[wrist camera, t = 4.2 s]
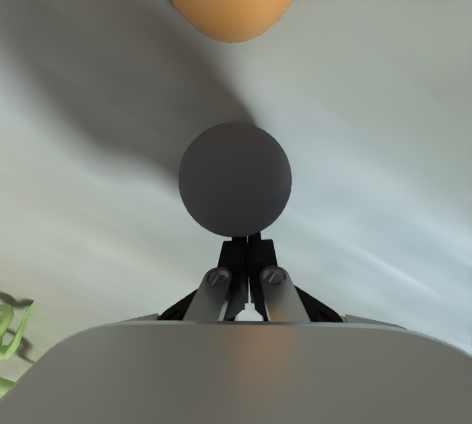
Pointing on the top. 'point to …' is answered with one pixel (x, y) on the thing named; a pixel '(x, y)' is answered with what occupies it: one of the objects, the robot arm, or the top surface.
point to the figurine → (5, 352)
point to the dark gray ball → (235, 179)
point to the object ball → (232, 17)
